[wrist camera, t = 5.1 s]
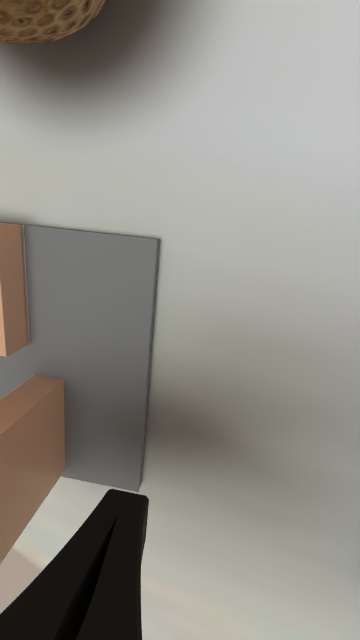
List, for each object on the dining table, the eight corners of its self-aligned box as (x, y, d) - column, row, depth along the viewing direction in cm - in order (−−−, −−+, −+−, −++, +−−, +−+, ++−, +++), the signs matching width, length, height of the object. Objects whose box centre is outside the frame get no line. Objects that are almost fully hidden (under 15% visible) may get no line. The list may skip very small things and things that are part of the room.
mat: (159, 239, 11) (157, 239, 11) (141, 483, 14) (138, 491, 14) (-111, 210, 12) (-124, 209, 12) (-70, 441, 16) (-79, 447, 15)
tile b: (63, 379, 13) (-64, 492, 7) (65, 468, 14) (-41, 623, 8) (33, 374, 13) (-116, 480, 7) (37, 463, 14) (-84, 610, 9)
